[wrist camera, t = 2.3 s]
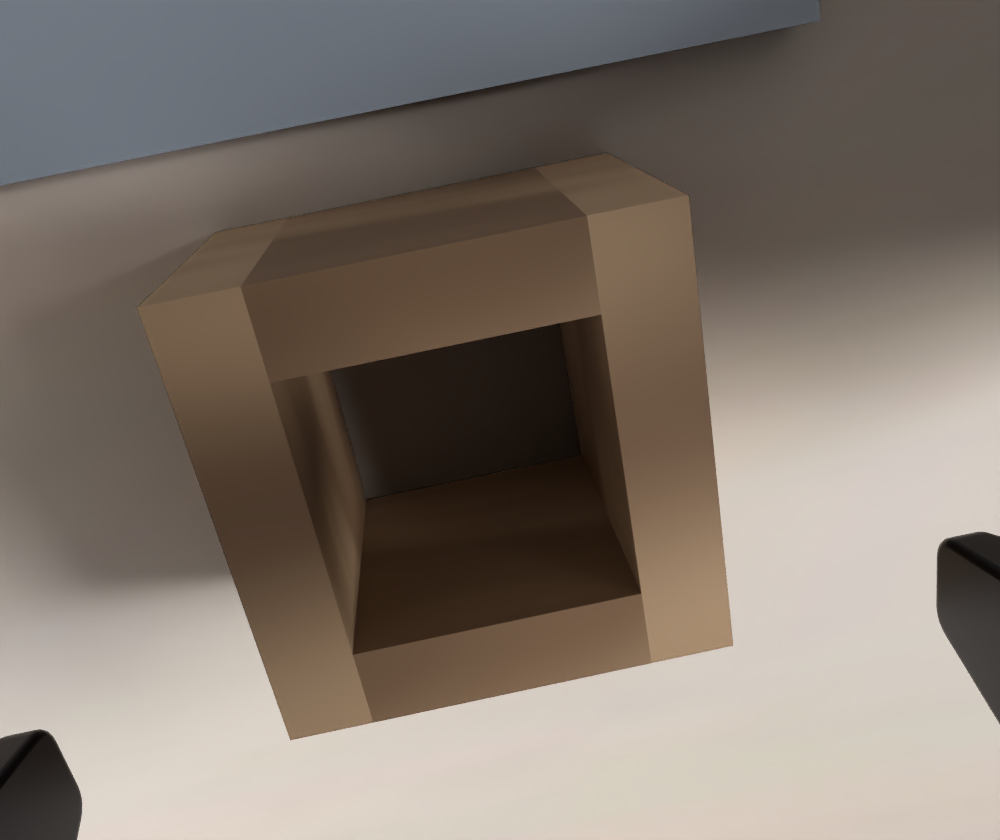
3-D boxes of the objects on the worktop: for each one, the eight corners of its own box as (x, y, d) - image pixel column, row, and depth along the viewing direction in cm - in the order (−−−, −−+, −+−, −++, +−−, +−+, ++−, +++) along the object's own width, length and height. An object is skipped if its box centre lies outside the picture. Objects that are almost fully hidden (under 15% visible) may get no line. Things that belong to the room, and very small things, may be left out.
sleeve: (652, 497, 19) (732, 645, 14) (319, 568, 18) (290, 740, 14) (606, 152, 16) (688, 195, 11) (215, 232, 16) (137, 308, 11)
